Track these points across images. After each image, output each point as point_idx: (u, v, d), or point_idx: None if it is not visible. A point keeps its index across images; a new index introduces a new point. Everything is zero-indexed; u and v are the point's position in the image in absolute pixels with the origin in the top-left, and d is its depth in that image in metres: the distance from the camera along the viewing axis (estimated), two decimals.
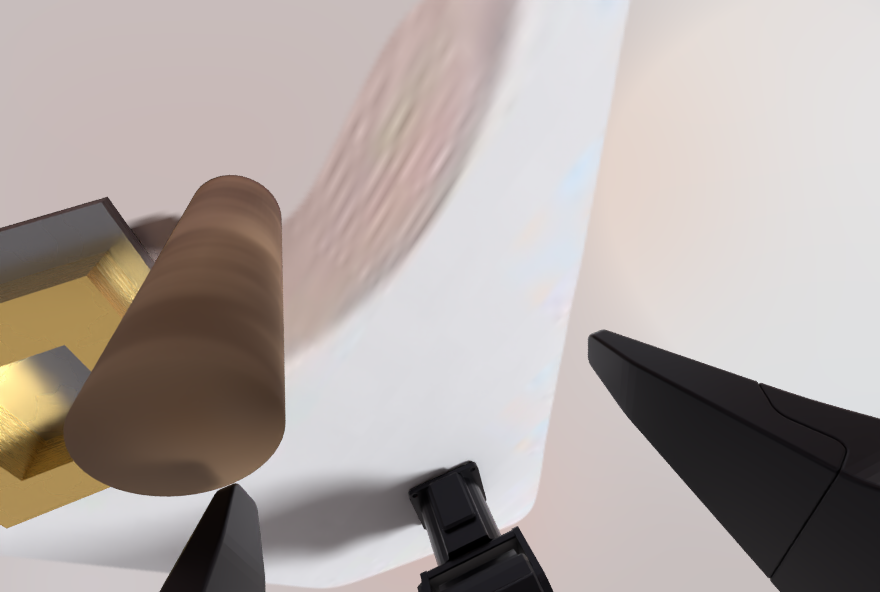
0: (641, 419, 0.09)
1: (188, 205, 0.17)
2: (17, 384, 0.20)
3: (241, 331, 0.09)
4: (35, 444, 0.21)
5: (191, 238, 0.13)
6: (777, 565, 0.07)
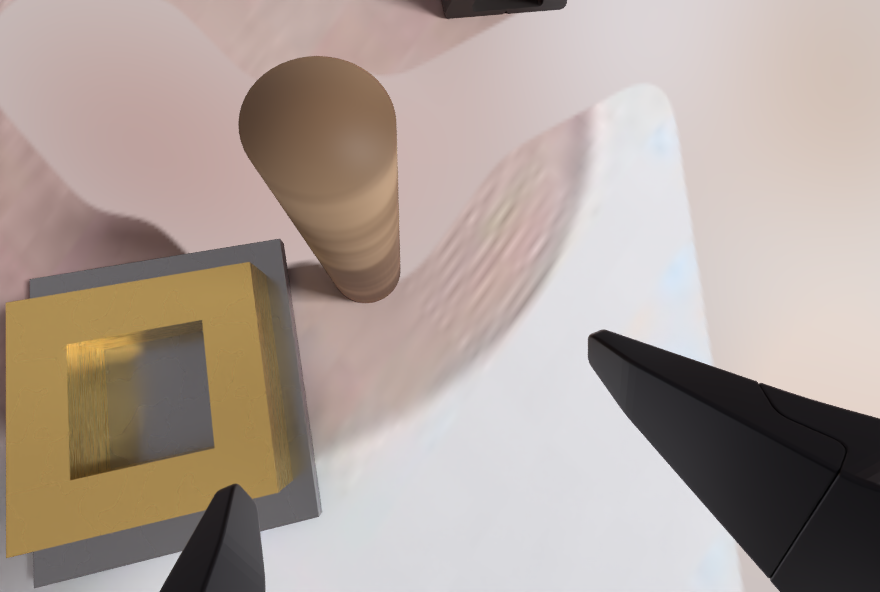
0: (641, 419, 0.09)
1: None
2: (134, 388, 0.21)
3: None
4: (102, 462, 0.20)
5: None
6: (778, 564, 0.07)
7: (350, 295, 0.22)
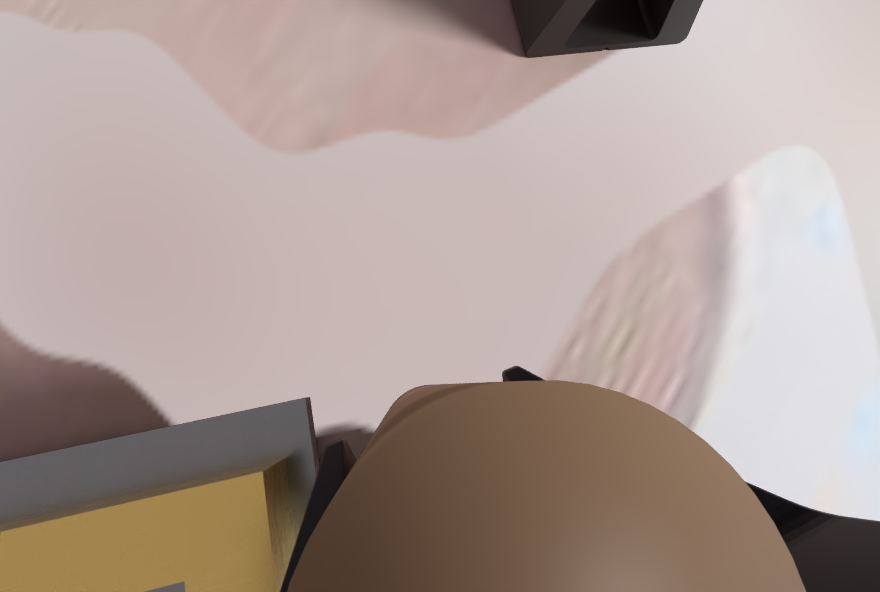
0: None
1: None
2: None
3: None
4: None
5: None
6: None
7: None
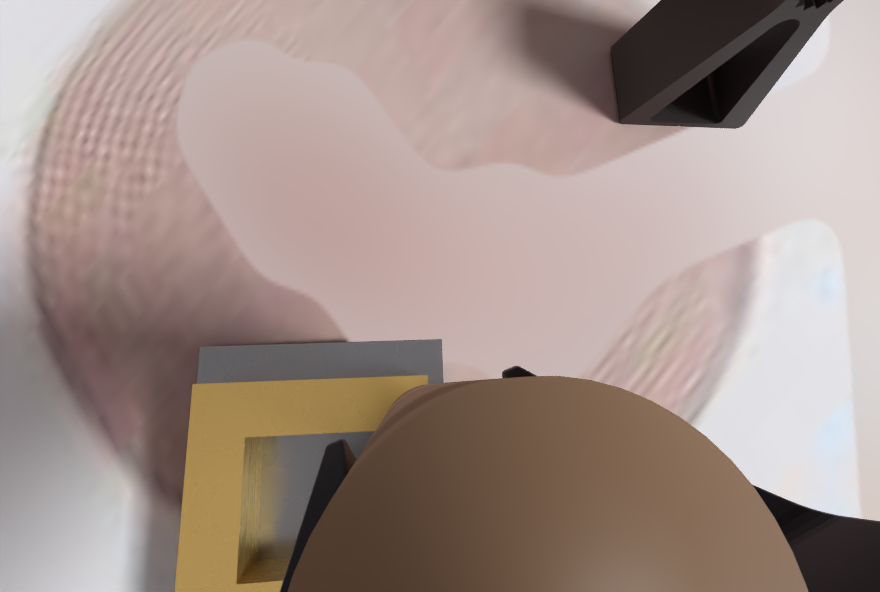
0: None
1: (397, 399, 0.14)
2: (287, 477, 0.21)
3: None
4: (253, 555, 0.19)
5: (442, 383, 0.09)
6: None
7: None
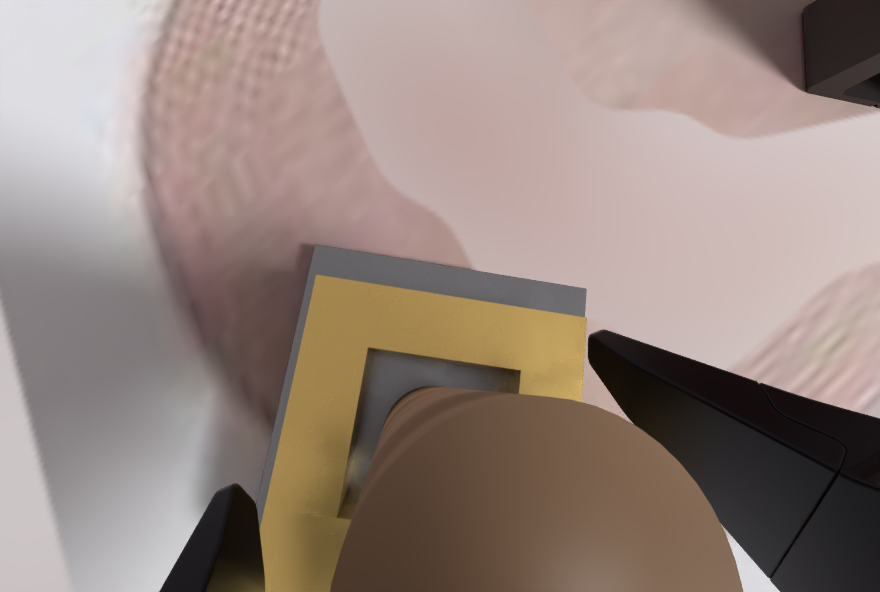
0: (641, 419, 0.09)
1: (398, 401, 0.15)
2: None
3: None
4: (346, 491, 0.16)
5: (443, 389, 0.10)
6: (777, 564, 0.07)
7: None
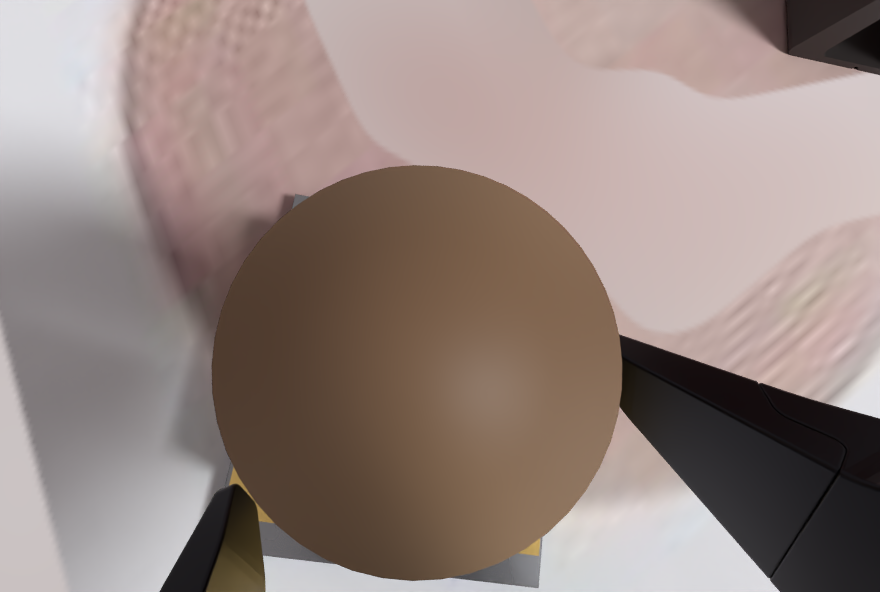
0: (641, 419, 0.09)
1: None
2: None
3: None
4: None
5: None
6: (777, 564, 0.07)
7: None
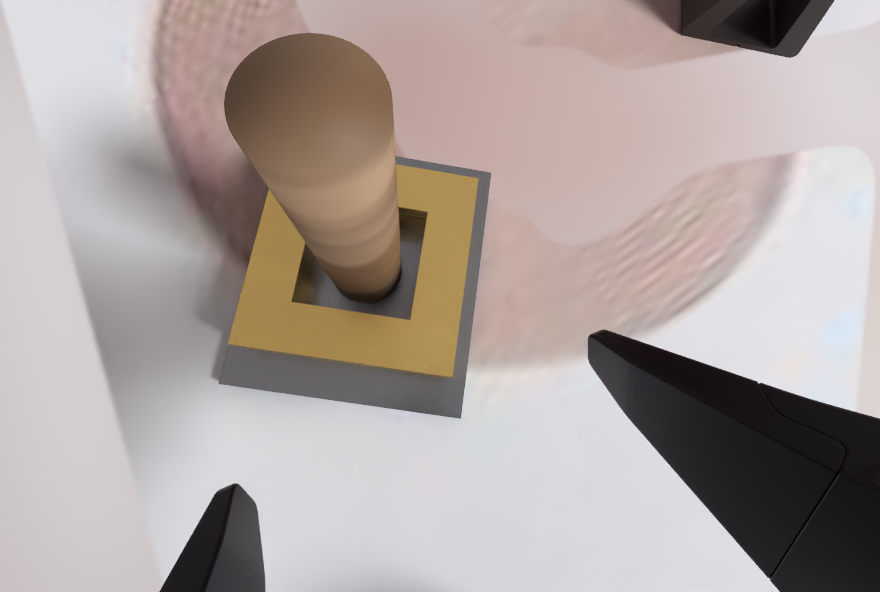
0: (641, 419, 0.09)
1: None
2: None
3: None
4: (302, 302, 0.22)
5: None
6: (777, 564, 0.07)
7: (349, 295, 0.22)
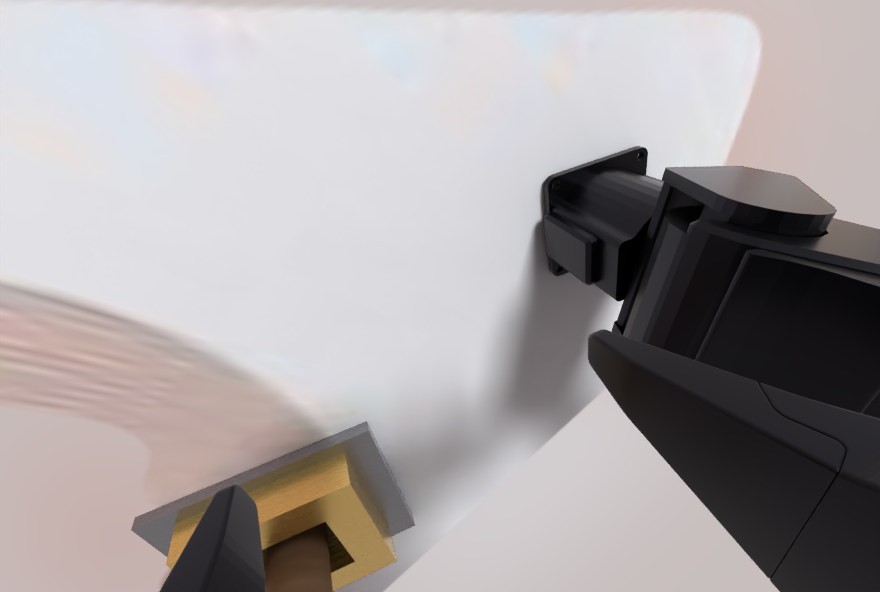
0: (641, 419, 0.09)
1: None
2: None
3: None
4: None
5: None
6: (778, 565, 0.07)
7: (327, 537, 0.29)
